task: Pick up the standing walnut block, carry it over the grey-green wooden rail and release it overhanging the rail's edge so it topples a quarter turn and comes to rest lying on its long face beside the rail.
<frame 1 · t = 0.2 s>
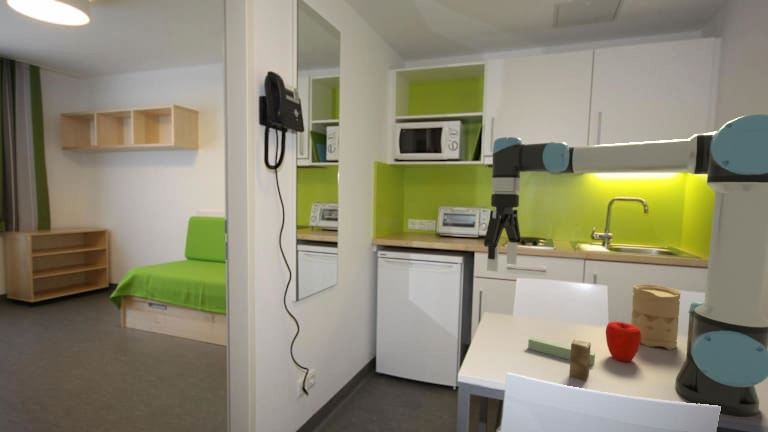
hand: (502, 267, 107), 27 cm above the table, fingers open, 13 cm apart
walnut block: (579, 376, 100), on the table
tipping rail: (559, 355, 113), on the table
container: (652, 342, 124), on the table
apple: (621, 359, 111), on the table
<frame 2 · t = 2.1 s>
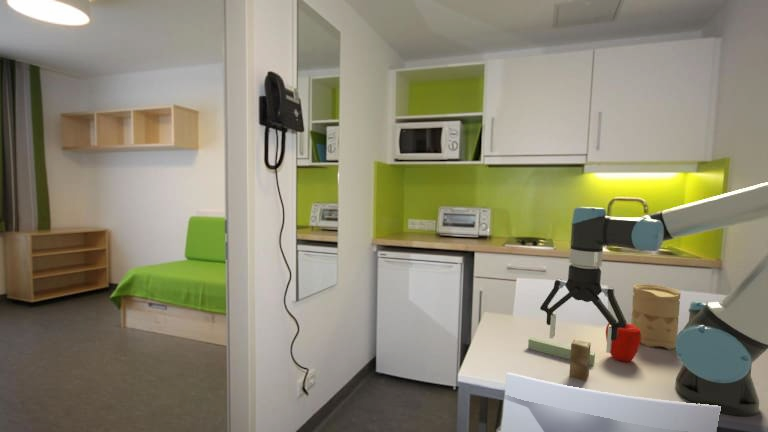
hand: (579, 343, 100), 9 cm above the table, fingers open, 13 cm apart
nothing on the table moved.
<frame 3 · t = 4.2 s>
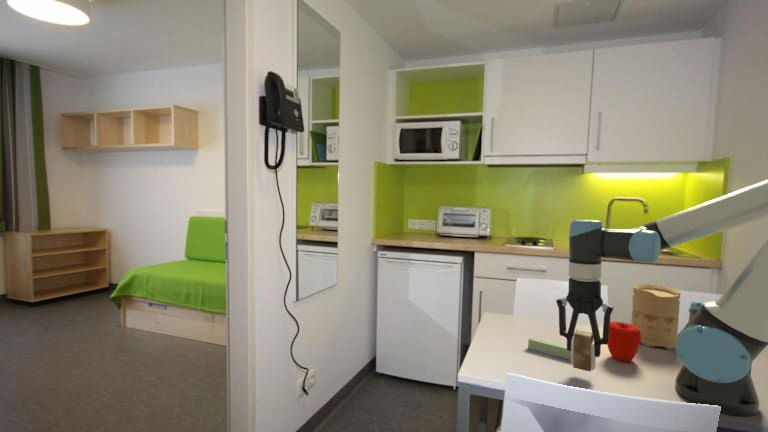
hand: (583, 365, 99), 3 cm above the table, fingers closed on walnut block, 4 cm apart
walnut block: (583, 366, 99), point 3 cm above the table, touching gripper
everything else where it was.
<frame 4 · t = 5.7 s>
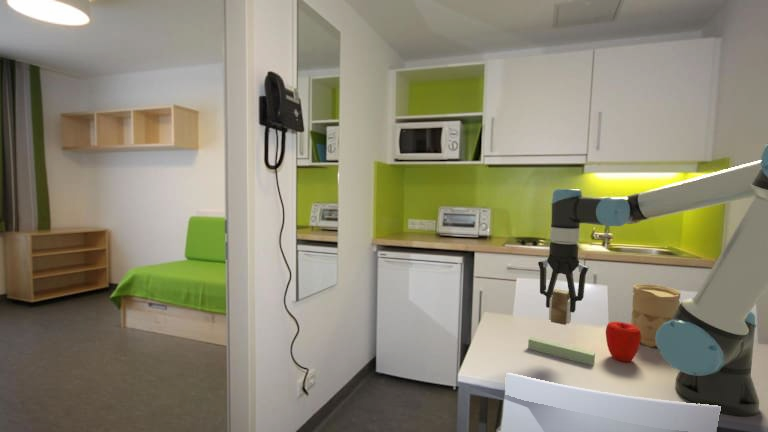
hand: (559, 320, 110), 11 cm above the table, fingers closed on walnut block, 4 cm apart
walnut block: (559, 321, 110), point 11 cm above the table, touching gripper
everything else where it was.
when the fingers open (4 cm above the table, at t = 6.9 s): walnut block drops 2 cm and tips over, point 2 cm above the table.
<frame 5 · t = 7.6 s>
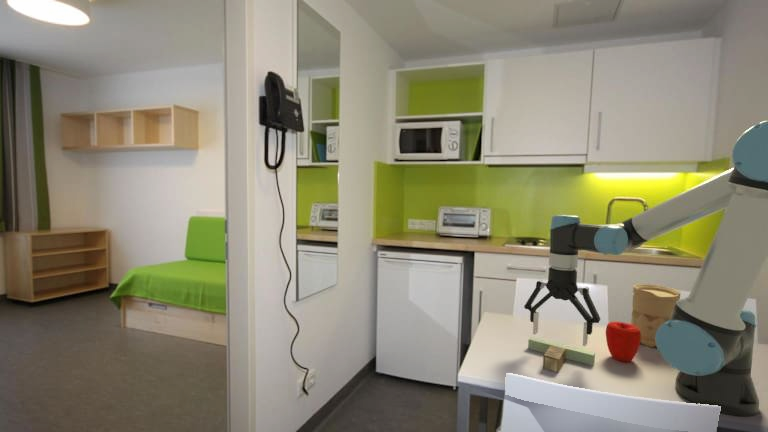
hand: (559, 338, 110), 6 cm above the table, fingers open, 13 cm apart
walnut block: (558, 353, 110), point 2 cm above the table, tilted 90°
everything else where it was.
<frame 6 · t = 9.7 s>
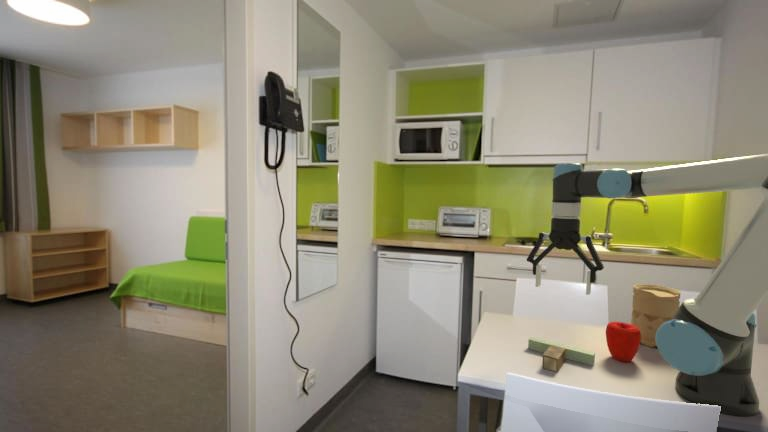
hand: (562, 289, 109), 21 cm above the table, fingers open, 13 cm apart
nothing on the table moved.
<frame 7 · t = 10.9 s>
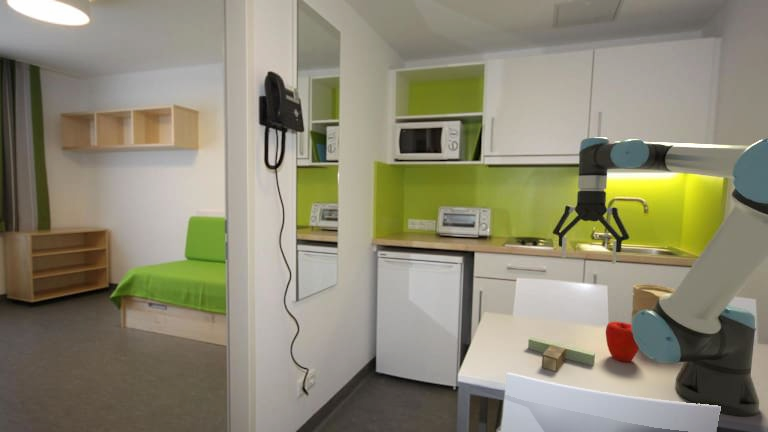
hand: (587, 260, 114), 29 cm above the table, fingers open, 13 cm apart
nothing on the table moved.
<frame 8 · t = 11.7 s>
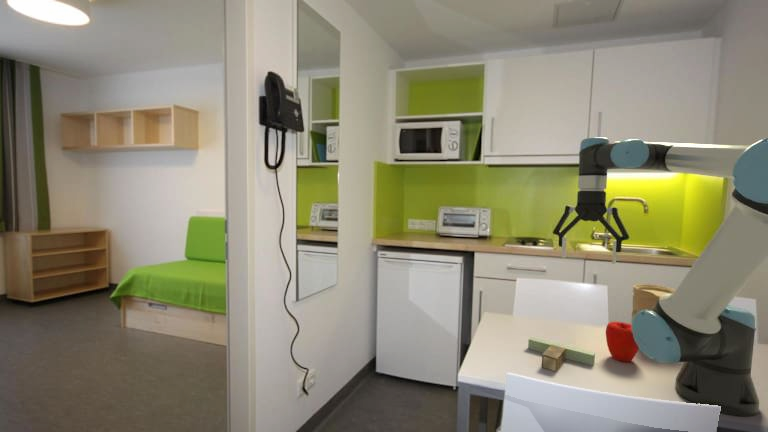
hand: (587, 260, 114), 29 cm above the table, fingers open, 13 cm apart
nothing on the table moved.
at the end: walnut block tilted 90°; walnut block inside the target area (4.7 cm from its centre), point 1.7 cm above the table; the gripper is holding nothing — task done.
